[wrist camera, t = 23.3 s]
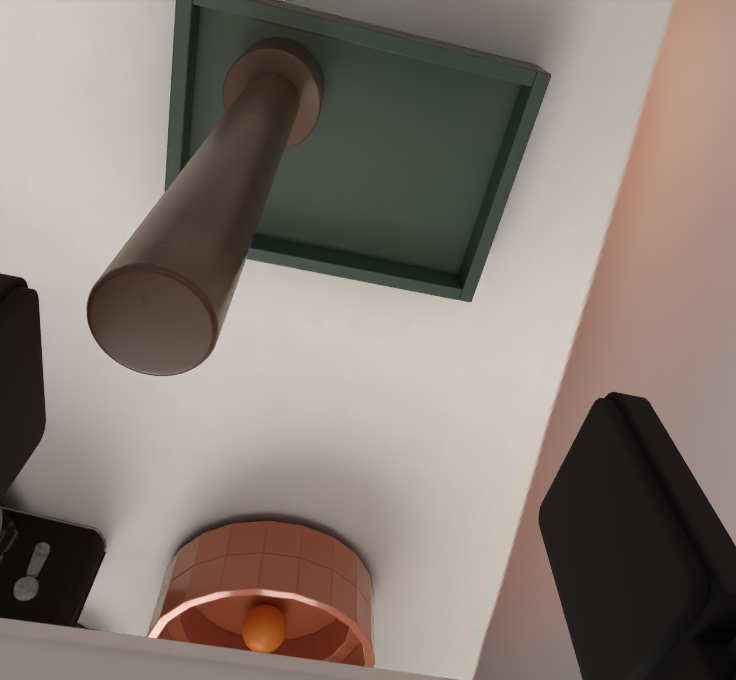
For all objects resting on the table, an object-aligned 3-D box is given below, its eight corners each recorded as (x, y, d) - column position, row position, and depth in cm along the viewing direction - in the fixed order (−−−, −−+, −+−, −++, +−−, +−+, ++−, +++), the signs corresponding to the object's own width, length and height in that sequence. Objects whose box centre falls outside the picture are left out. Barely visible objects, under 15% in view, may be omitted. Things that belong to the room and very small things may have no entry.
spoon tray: (538, 65, 26) (552, 74, 24) (464, 282, 31) (471, 302, 30) (189, -22, 24) (176, -19, 23) (172, 224, 30) (161, 242, 28)
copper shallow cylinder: (393, 530, 41) (397, 606, 36) (349, 653, 48) (348, 730, 43) (174, 499, 39) (150, 574, 34) (162, 632, 46) (140, 710, 41)
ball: (262, 587, 43) (292, 609, 45) (230, 618, 43) (262, 639, 45) (267, 616, 41) (299, 639, 42) (233, 649, 41) (266, 671, 42)
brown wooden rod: (341, 75, 26) (314, 302, 10) (293, 147, 27) (199, 448, 11) (265, 16, 24) (87, 161, 8) (219, 95, 26) (-6, 347, 10)
